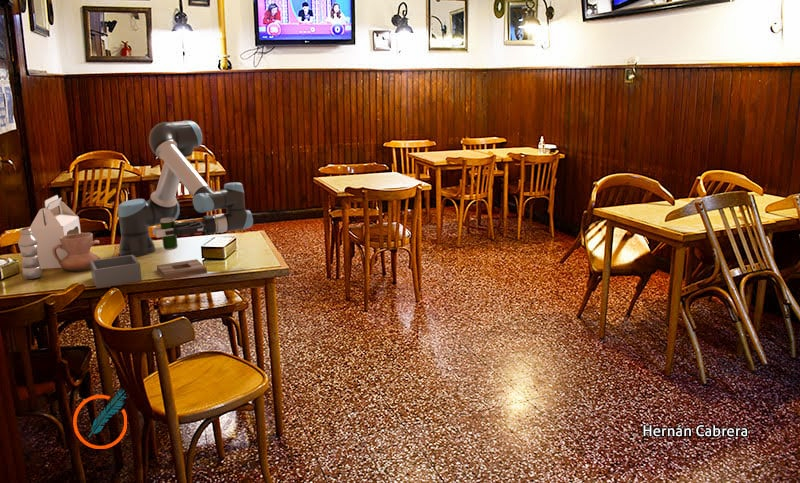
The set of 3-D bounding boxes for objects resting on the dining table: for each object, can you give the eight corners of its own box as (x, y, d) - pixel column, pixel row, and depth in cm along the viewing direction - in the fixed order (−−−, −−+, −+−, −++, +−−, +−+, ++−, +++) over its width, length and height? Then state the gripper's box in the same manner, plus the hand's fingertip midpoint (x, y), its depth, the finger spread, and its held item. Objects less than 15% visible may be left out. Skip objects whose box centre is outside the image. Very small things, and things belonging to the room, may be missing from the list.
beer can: (165, 250, 257) (161, 220, 254) (161, 248, 261) (158, 218, 258) (179, 248, 260) (176, 218, 257) (175, 245, 264) (172, 216, 261)
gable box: (68, 267, 276) (58, 201, 269) (34, 269, 274) (24, 203, 267) (84, 254, 297) (75, 192, 291) (52, 256, 295) (43, 194, 288)
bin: (92, 277, 259) (89, 260, 258) (135, 271, 267) (133, 254, 265) (96, 288, 246) (94, 270, 244) (142, 281, 254) (139, 263, 252)
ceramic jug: (106, 262, 282) (100, 229, 279) (100, 270, 269) (95, 236, 265) (59, 267, 278) (54, 234, 274) (52, 276, 264) (46, 241, 261)
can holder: (157, 269, 268) (156, 265, 268) (197, 263, 276) (196, 259, 276) (165, 279, 255) (164, 274, 254) (206, 272, 263) (206, 267, 262)
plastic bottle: (28, 276, 264) (20, 227, 259) (45, 275, 264) (38, 226, 259) (20, 281, 257) (12, 231, 253) (38, 280, 258) (30, 230, 253)
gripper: (221, 237, 261) (160, 246, 250) (208, 229, 276) (150, 237, 265) (219, 218, 259) (158, 227, 248) (206, 211, 275) (148, 219, 263)
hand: (154, 232), depth 256 cm, fingers closed on beer can, 5 cm apart
